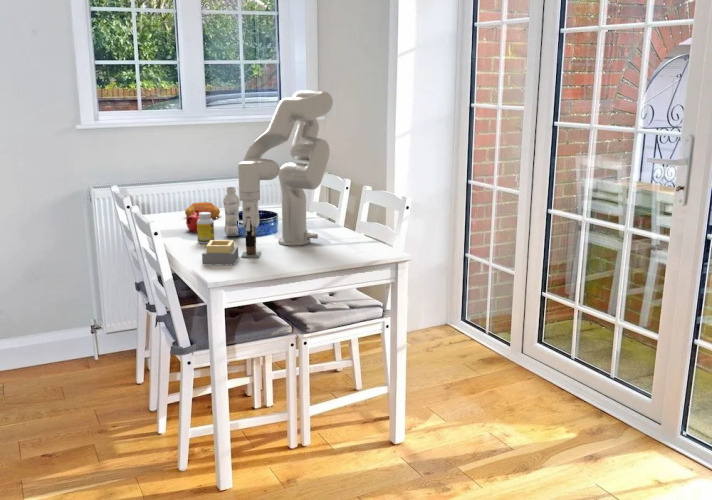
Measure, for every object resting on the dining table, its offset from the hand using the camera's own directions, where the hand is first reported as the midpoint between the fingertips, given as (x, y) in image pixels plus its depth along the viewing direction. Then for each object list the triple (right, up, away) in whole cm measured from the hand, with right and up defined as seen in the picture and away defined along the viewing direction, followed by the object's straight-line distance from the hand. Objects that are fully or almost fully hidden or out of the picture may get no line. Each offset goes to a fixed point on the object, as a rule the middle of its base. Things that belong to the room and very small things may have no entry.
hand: (251, 244), depth 260 cm
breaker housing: (-10, -6, -6) cm, 13 cm away
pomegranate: (-28, +6, +40) cm, 49 cm away
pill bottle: (-21, +1, +21) cm, 29 cm away
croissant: (-32, +13, +65) cm, 74 cm away
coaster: (0, -4, +1) cm, 4 cm away
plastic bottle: (-12, +3, +30) cm, 33 cm away
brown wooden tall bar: (0, -3, +1) cm, 3 cm away
